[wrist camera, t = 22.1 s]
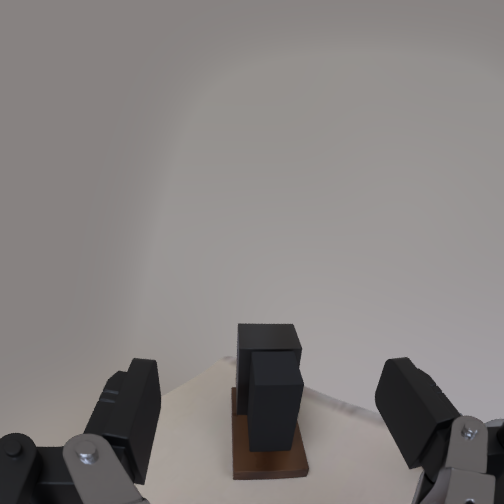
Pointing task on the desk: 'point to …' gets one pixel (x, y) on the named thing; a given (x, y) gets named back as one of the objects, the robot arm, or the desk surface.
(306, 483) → the desk surface
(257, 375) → the black rectangular block
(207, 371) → the desk surface
